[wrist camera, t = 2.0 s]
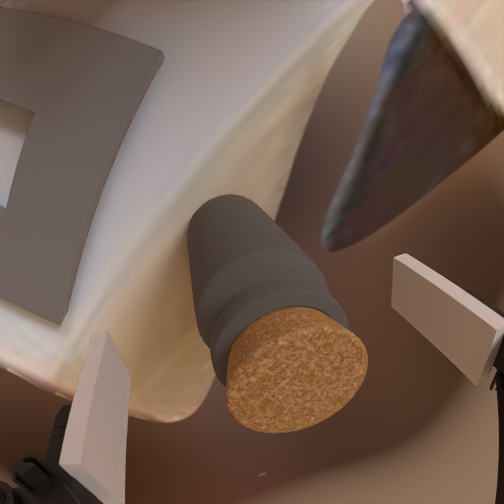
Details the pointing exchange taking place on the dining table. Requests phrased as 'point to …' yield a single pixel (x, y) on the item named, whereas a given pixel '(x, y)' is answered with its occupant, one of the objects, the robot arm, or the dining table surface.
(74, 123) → the hole plate
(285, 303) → the bottle
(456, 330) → the robot arm
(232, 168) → the dining table surface
